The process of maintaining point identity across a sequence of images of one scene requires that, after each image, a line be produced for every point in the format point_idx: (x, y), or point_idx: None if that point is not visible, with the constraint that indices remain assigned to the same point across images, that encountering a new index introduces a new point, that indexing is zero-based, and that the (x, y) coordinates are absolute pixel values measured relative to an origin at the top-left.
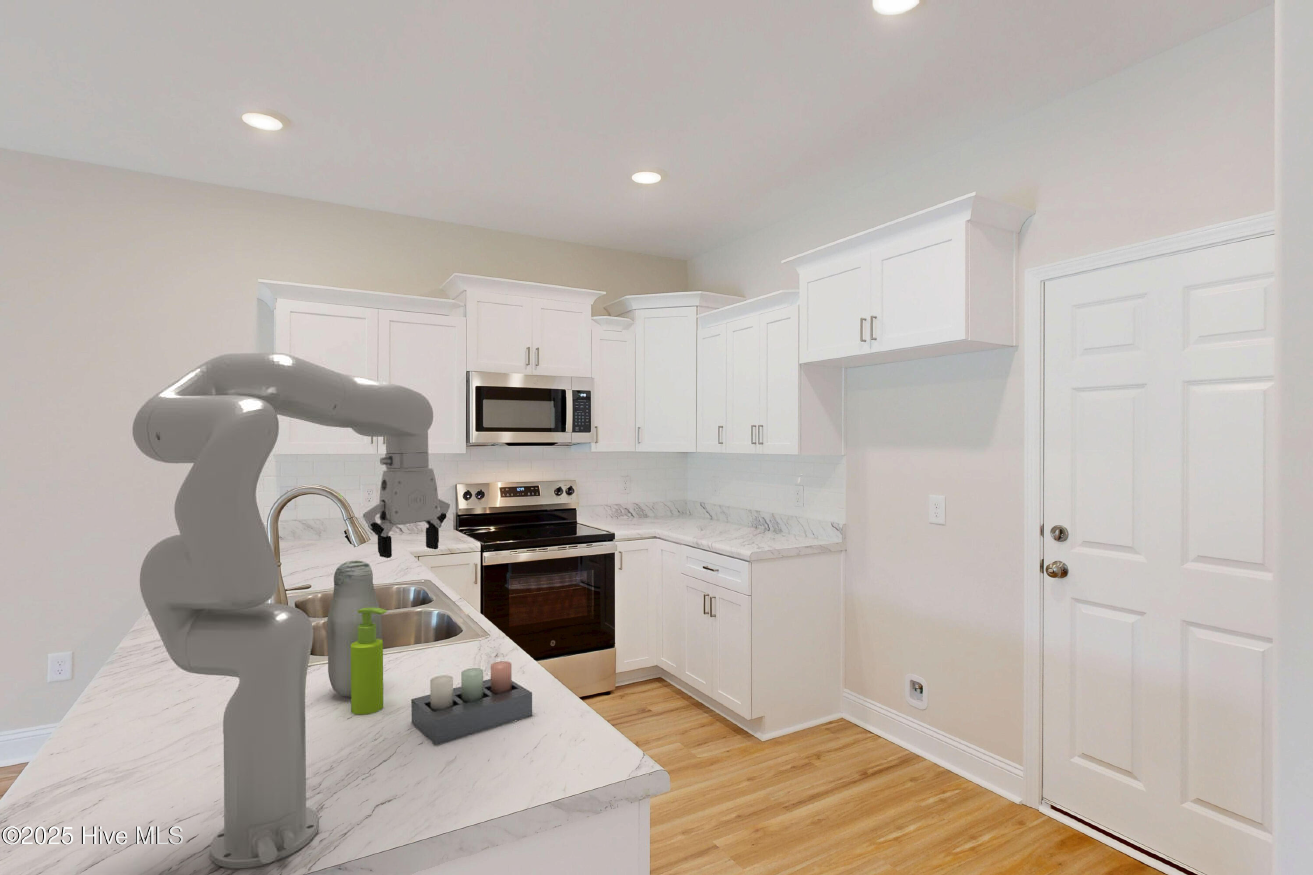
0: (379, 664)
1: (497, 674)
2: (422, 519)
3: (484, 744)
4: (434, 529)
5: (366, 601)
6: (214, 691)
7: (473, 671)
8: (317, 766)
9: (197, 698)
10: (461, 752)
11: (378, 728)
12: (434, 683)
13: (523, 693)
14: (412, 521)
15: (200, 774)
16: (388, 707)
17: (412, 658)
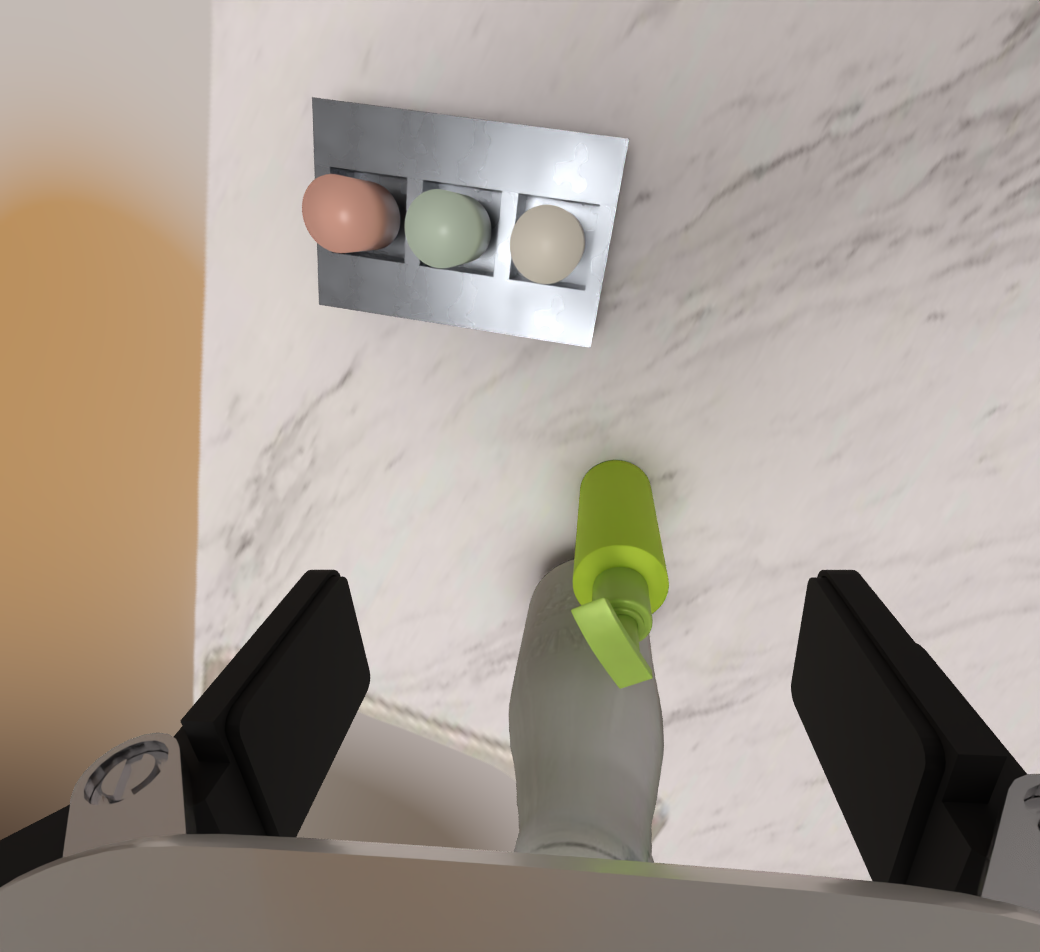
0: (601, 516)
1: (369, 192)
2: (383, 879)
3: (535, 38)
4: (226, 736)
5: (574, 737)
6: (763, 783)
7: (435, 229)
8: (872, 278)
9: (801, 776)
10: (605, 43)
11: (660, 369)
12: (580, 230)
13: (336, 112)
14: (650, 886)
15: (1031, 445)
16: (579, 462)
17: (403, 663)
